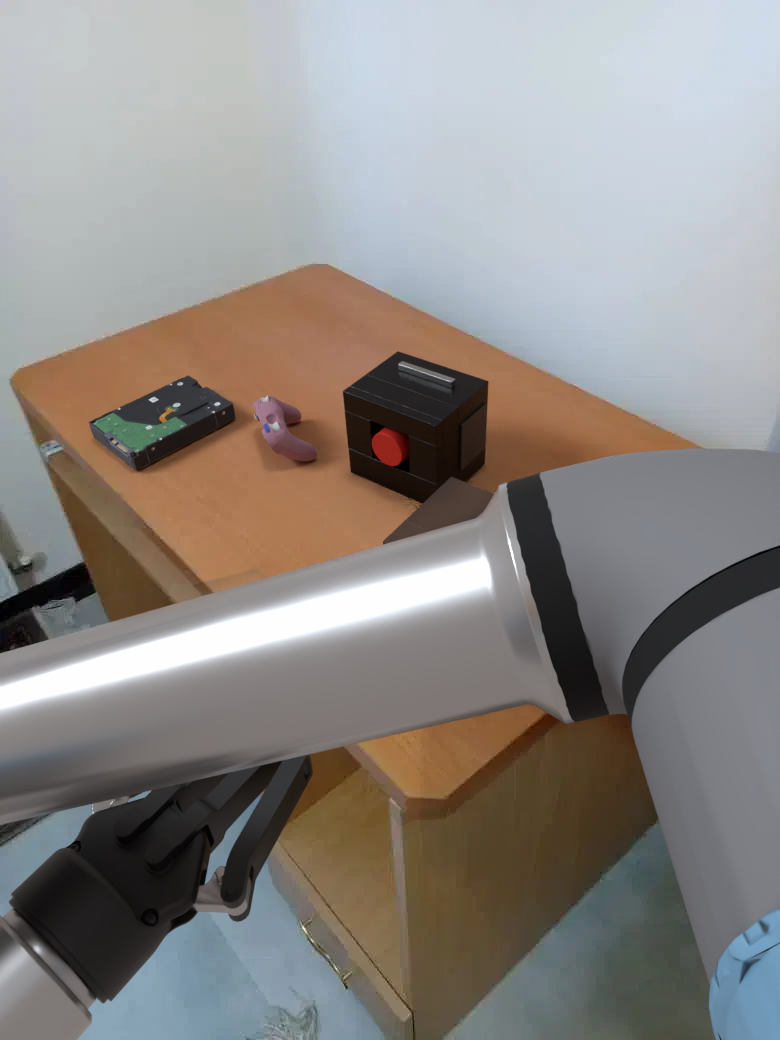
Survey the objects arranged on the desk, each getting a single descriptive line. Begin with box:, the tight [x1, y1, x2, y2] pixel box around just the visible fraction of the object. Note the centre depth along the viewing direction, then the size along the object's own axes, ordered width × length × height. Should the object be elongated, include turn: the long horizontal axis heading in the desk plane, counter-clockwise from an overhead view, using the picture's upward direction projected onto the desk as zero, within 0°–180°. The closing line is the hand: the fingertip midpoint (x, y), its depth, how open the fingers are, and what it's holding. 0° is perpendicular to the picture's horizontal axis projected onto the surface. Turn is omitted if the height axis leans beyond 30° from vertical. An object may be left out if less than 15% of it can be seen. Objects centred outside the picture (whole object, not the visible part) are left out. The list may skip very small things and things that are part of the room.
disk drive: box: [88, 375, 236, 471], centre depth 99 cm, size 10×3×15 cm
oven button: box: [372, 427, 409, 466], centre depth 85 cm, size 4×3×4 cm, turn 53°
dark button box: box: [342, 351, 490, 505], centre depth 87 cm, size 12×10×12 cm
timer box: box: [382, 477, 494, 545], centre depth 68 cm, size 10×10×13 cm
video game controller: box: [252, 394, 318, 462], centre depth 94 cm, size 10×5×7 cm, turn 17°
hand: (342, 655), depth 54 cm, fingers closed
